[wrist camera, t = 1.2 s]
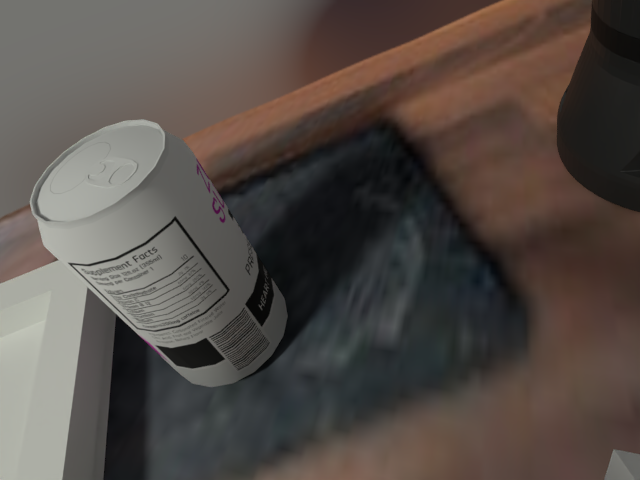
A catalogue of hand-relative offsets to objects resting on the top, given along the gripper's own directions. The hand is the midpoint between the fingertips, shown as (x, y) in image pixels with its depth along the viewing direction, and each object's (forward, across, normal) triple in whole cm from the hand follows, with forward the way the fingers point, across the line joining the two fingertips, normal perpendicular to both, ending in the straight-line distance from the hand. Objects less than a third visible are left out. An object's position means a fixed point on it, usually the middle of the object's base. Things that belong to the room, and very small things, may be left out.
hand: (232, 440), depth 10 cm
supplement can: (+24, -6, -9) cm, 26 cm away
